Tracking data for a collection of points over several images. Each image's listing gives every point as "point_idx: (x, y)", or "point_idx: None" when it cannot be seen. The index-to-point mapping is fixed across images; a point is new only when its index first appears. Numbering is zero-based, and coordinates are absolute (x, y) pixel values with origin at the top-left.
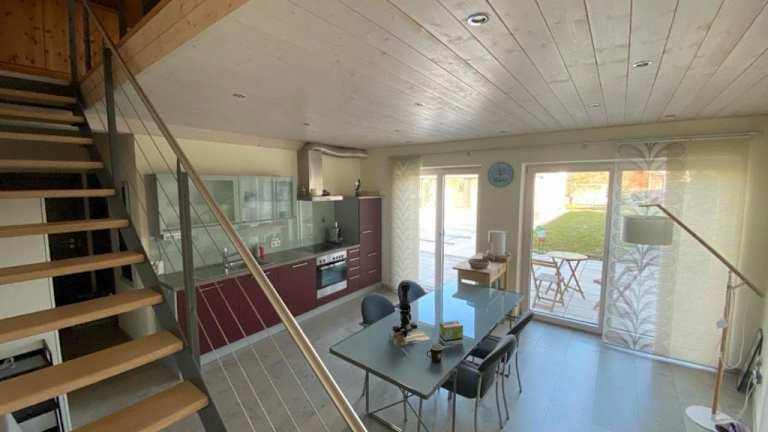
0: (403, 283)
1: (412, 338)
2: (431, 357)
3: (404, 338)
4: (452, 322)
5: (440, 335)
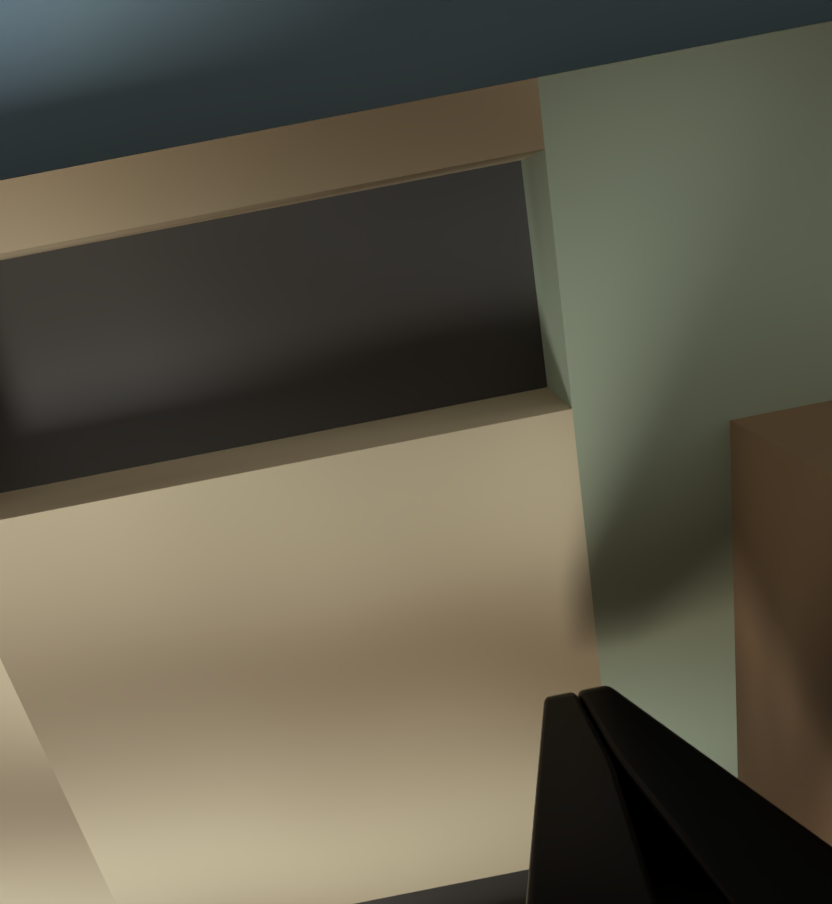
0: None
1: (130, 679)
2: None
3: None
4: None
5: None
